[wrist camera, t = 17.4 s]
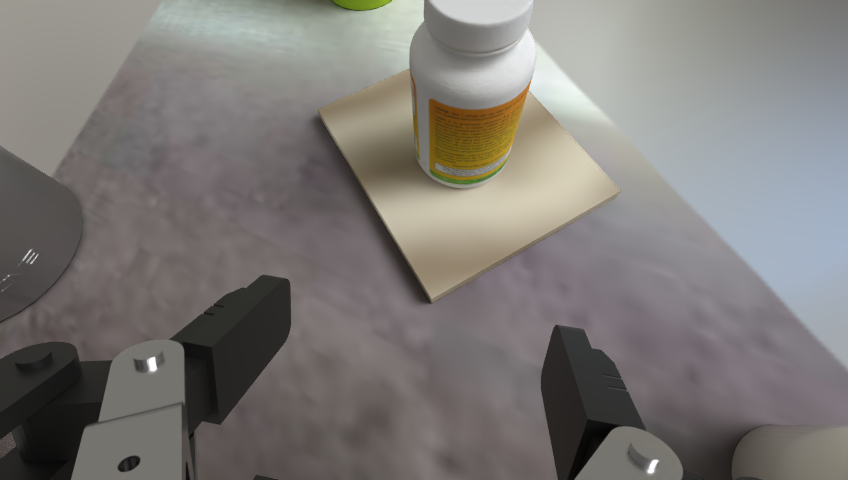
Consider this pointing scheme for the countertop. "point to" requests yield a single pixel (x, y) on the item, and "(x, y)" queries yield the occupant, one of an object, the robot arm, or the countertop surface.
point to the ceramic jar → (793, 453)
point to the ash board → (463, 207)
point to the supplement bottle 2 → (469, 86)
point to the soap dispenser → (361, 4)
